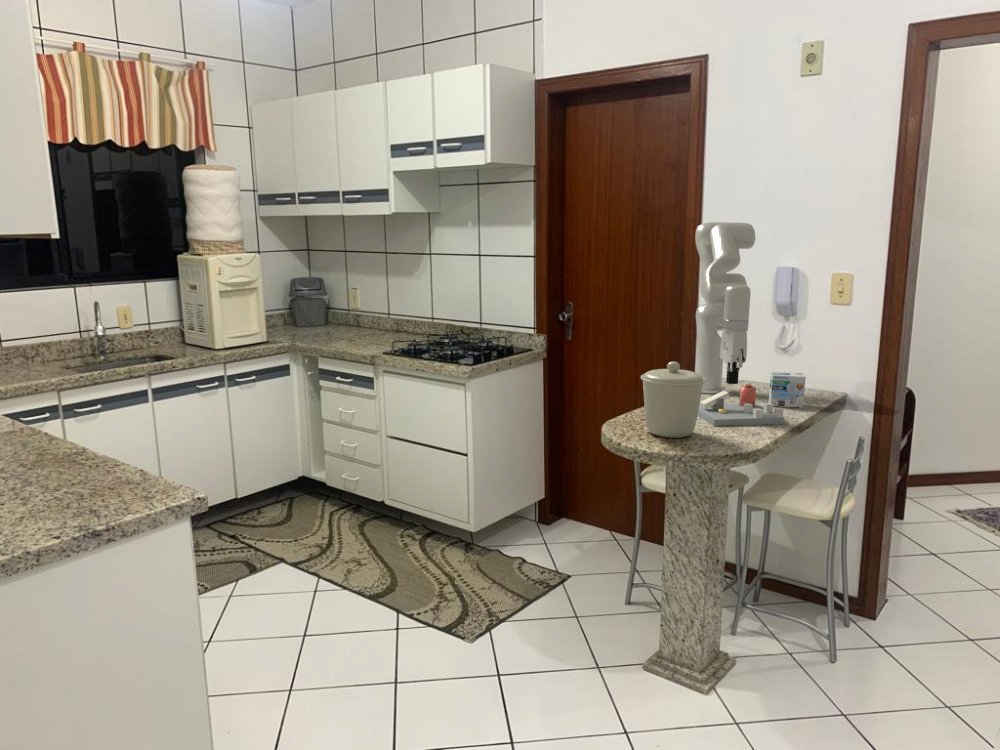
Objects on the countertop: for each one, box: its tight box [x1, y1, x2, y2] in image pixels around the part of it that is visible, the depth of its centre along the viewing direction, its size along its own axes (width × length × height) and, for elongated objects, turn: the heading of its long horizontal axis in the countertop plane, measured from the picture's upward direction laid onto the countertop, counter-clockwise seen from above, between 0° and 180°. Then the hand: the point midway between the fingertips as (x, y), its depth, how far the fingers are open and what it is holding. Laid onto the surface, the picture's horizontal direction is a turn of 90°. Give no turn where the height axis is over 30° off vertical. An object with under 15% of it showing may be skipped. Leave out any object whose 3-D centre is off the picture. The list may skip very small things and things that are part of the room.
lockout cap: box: [738, 383, 757, 407], centre depth 247 cm, size 5×5×7 cm
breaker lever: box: [700, 387, 735, 409], centre depth 242 cm, size 4×10×2 cm, turn 98°
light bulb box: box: [767, 371, 807, 409], centre depth 256 cm, size 11×7×11 cm, turn 76°
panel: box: [697, 394, 785, 427], centre depth 240 cm, size 19×22×6 cm
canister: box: [640, 361, 706, 439], centre depth 219 cm, size 18×18×21 cm
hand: (732, 383), depth 241 cm, fingers closed
